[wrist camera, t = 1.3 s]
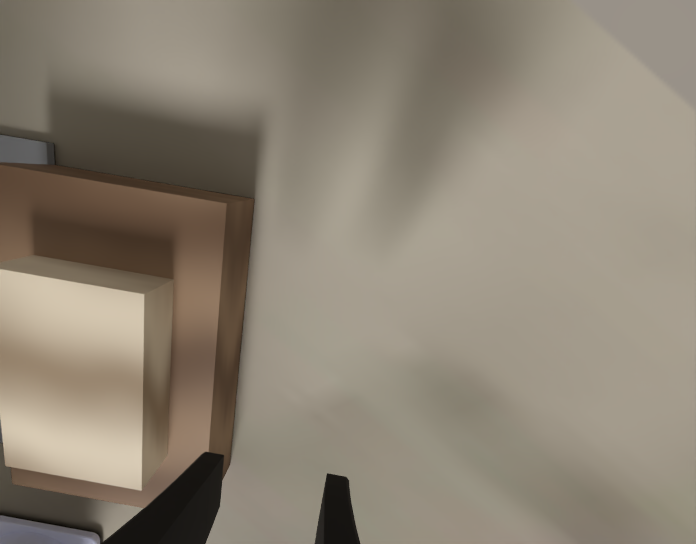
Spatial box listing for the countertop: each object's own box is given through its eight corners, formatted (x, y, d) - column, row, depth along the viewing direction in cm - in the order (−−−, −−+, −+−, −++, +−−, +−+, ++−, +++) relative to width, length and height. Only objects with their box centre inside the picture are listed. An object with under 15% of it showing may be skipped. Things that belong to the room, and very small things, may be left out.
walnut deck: (229, 465, 21) (203, 518, 18) (68, 436, 21) (12, 483, 18) (254, 199, 17) (226, 203, 14) (54, 164, 17) (-22, 161, 14)
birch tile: (167, 455, 17) (141, 490, 15) (46, 433, 17) (5, 465, 15) (173, 279, 15) (144, 294, 13) (34, 255, 15) (-17, 266, 13)
